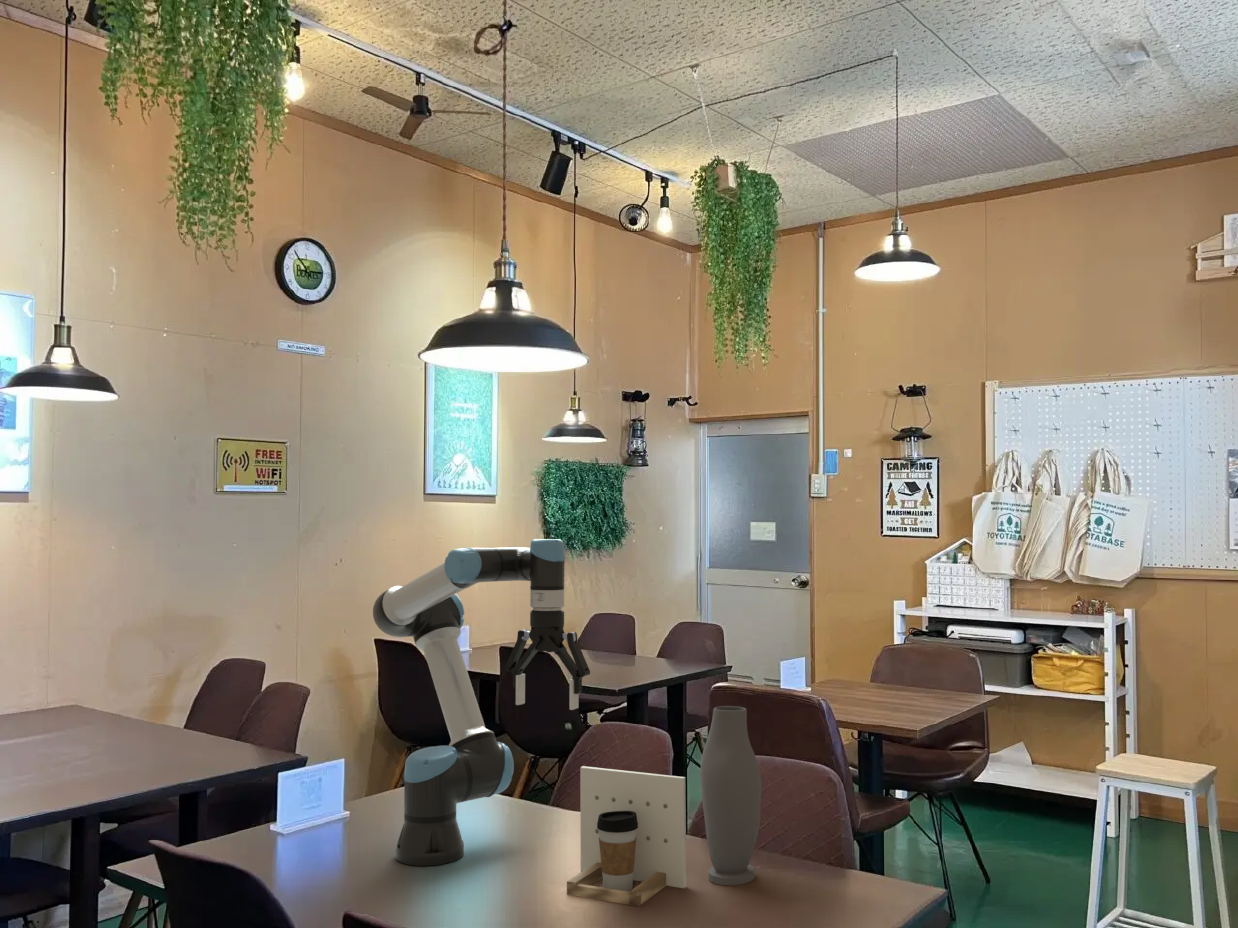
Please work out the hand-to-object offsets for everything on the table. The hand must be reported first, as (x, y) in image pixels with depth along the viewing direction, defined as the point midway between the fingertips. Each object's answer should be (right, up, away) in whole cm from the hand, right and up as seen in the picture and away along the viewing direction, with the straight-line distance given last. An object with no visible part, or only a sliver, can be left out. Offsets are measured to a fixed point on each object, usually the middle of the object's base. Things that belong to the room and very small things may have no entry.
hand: (546, 706), depth 224 cm
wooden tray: (+15, -33, -16) cm, 40 cm away
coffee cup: (+16, -34, -16) cm, 40 cm away
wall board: (+19, -34, -10) cm, 40 cm away
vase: (+39, -34, -8) cm, 53 cm away
